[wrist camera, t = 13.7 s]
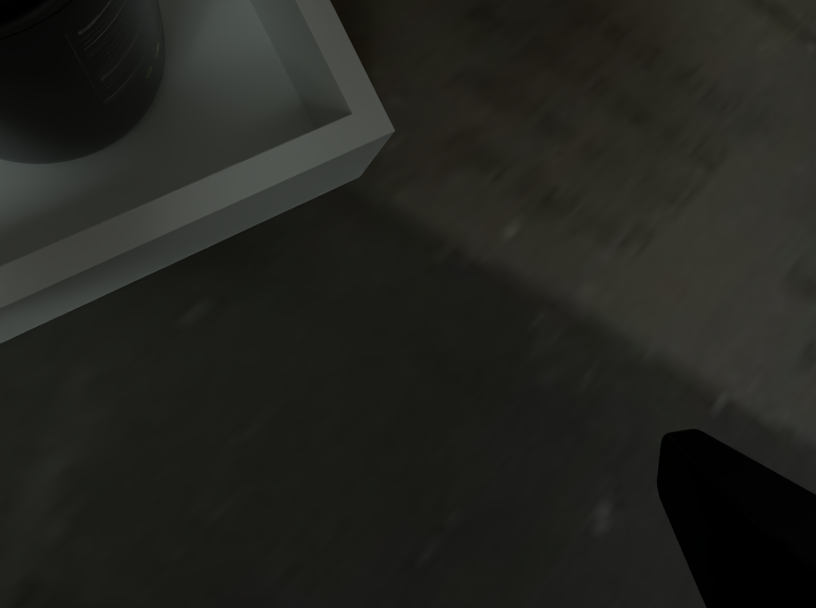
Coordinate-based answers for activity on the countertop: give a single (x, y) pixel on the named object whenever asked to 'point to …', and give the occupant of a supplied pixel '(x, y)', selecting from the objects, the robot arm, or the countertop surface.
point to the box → (193, 155)
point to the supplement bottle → (75, 75)
